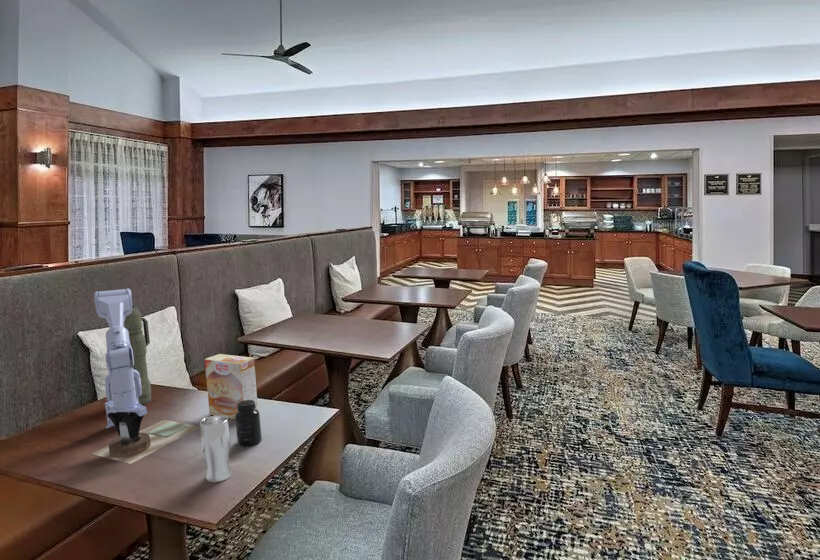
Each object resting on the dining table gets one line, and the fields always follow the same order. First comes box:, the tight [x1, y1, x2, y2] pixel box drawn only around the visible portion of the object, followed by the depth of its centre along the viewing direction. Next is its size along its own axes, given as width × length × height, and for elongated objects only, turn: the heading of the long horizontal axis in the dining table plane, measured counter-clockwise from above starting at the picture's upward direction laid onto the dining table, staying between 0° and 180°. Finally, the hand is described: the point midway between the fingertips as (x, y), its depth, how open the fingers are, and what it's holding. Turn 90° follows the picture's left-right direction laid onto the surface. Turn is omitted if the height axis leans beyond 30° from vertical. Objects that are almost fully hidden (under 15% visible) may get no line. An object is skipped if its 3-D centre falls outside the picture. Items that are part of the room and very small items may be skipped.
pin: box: [119, 419, 138, 445], centre depth 140 cm, size 4×4×8 cm
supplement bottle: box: [234, 400, 263, 448], centre depth 144 cm, size 7×7×12 cm
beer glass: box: [199, 415, 233, 483], centre depth 125 cm, size 7×7×15 cm
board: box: [91, 419, 200, 465], centre depth 146 cm, size 16×24×4 cm, turn 156°
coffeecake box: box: [204, 353, 259, 420], centre depth 164 cm, size 15×7×20 cm, turn 67°
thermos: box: [124, 305, 152, 406], centre depth 177 cm, size 9×12×35 cm
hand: (128, 436), depth 140 cm, fingers closed on pin, 4 cm apart
